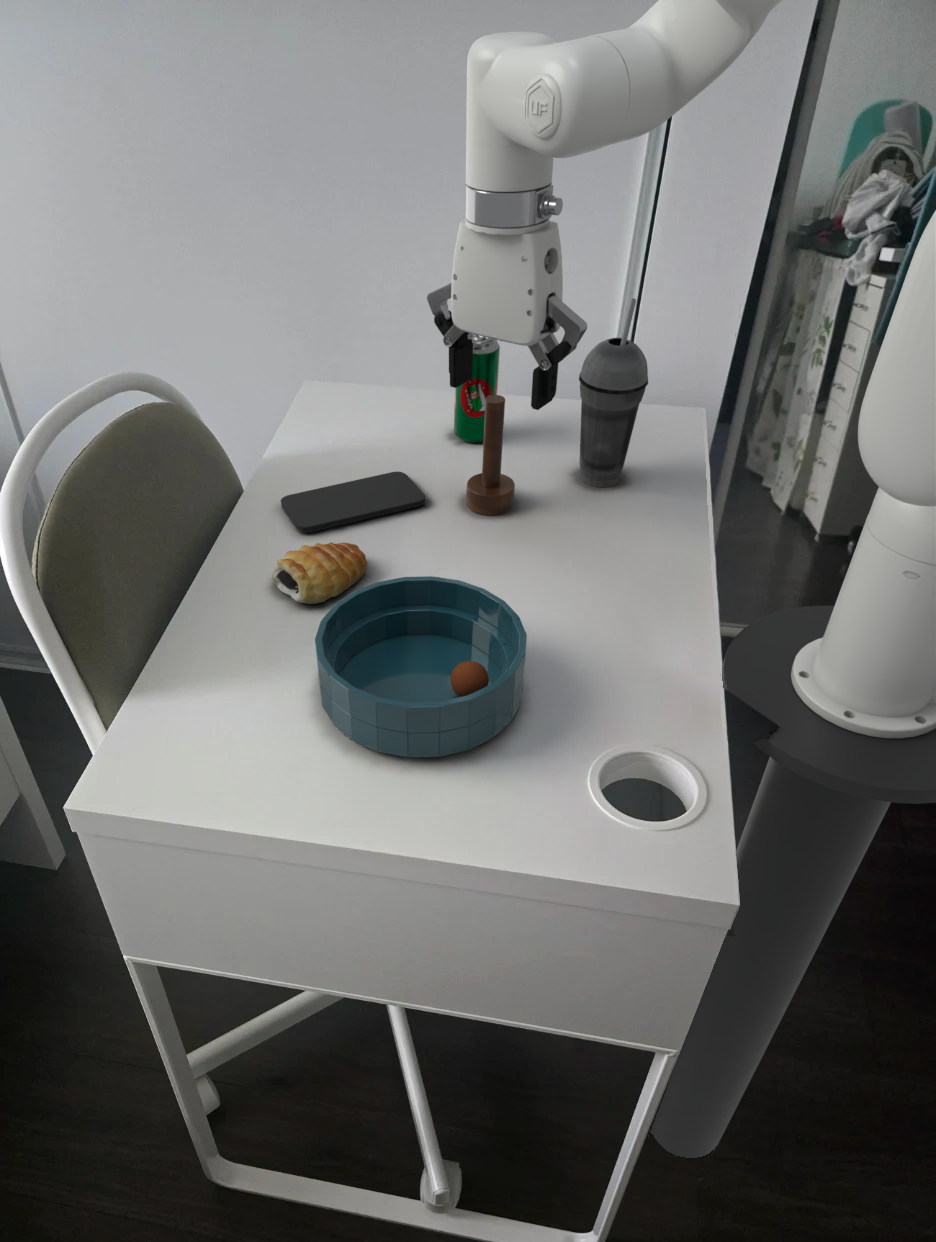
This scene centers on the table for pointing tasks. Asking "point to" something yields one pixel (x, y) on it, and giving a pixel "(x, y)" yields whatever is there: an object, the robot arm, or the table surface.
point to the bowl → (419, 665)
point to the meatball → (468, 678)
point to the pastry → (319, 571)
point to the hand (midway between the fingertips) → (500, 393)
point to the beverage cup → (610, 405)
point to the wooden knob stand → (491, 466)
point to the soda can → (476, 390)
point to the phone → (352, 501)
